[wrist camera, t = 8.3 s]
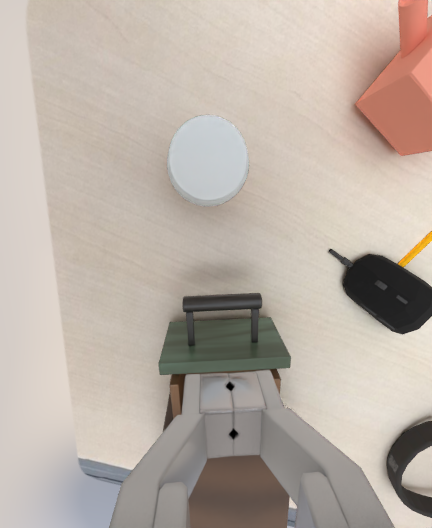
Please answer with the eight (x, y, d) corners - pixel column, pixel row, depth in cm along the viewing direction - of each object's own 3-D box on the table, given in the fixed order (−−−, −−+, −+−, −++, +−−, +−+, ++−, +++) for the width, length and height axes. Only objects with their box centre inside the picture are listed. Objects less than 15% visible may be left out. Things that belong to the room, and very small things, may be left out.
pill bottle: (229, 208, 25) (244, 219, 15) (173, 195, 24) (152, 199, 14) (243, 148, 23) (270, 119, 13) (183, 132, 22) (167, 91, 13)
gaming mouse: (348, 225, 26) (374, 232, 22) (438, 296, 29) (474, 313, 25) (310, 272, 27) (327, 286, 23) (399, 335, 30) (427, 357, 26)
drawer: (165, 281, 26) (152, 312, 19) (272, 276, 26) (294, 305, 19) (178, 415, 31) (171, 474, 25) (266, 409, 31) (282, 467, 25)
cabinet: (171, 379, 31) (159, 450, 22) (271, 374, 31) (294, 441, 23) (180, 462, 35) (172, 546, 27) (267, 456, 35) (286, 538, 27)
